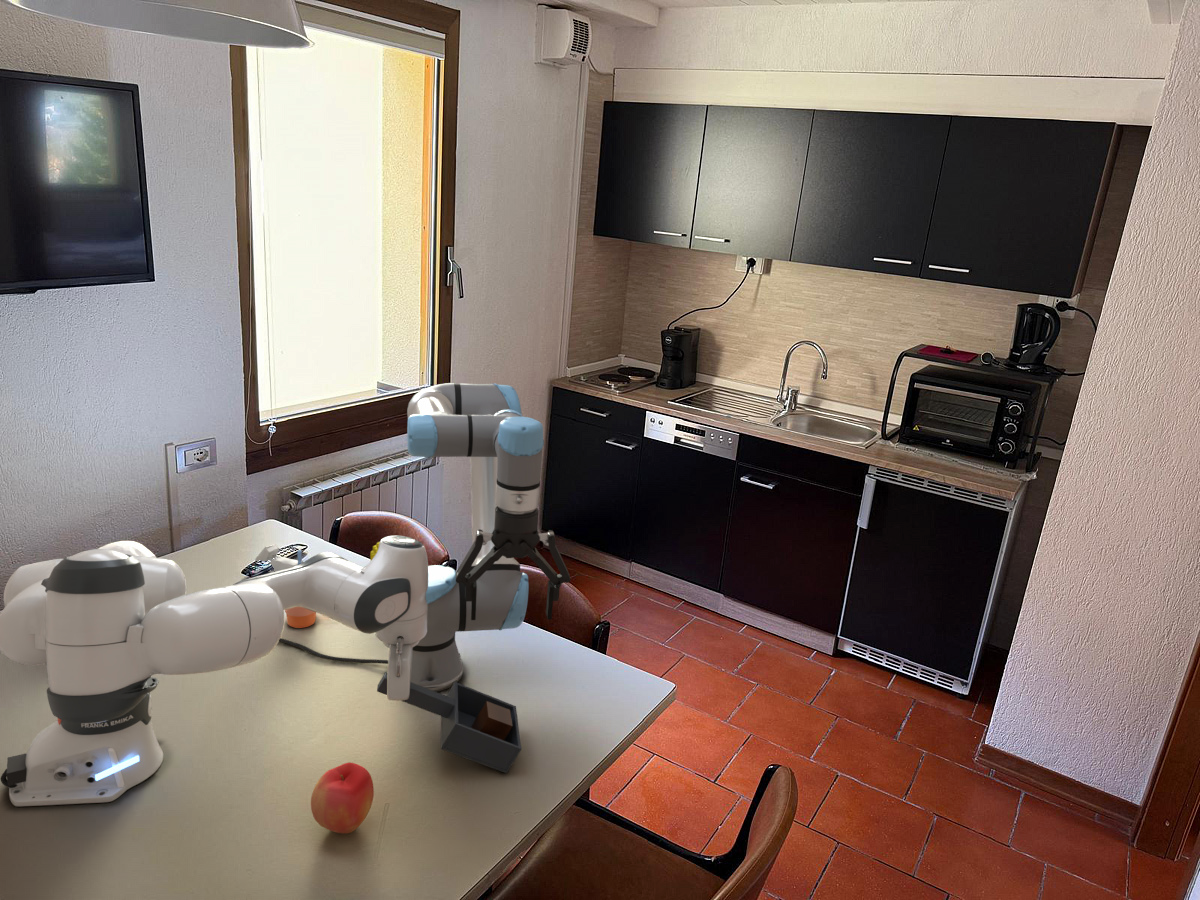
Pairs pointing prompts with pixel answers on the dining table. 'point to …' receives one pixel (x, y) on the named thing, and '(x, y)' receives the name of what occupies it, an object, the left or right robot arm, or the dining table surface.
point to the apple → (342, 798)
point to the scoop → (466, 723)
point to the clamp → (278, 563)
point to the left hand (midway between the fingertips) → (400, 692)
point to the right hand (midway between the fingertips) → (511, 616)
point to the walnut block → (493, 721)
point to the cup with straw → (300, 611)
